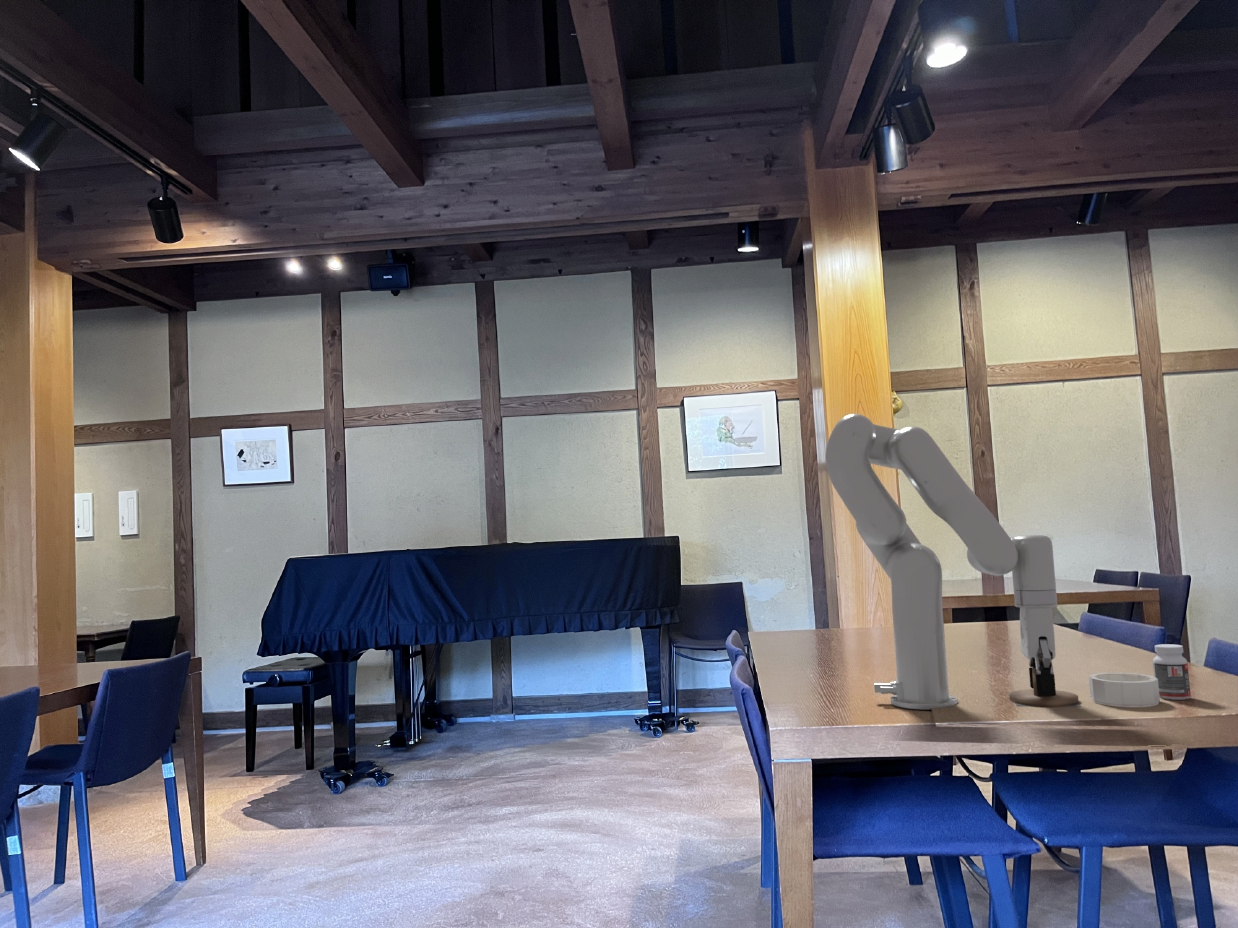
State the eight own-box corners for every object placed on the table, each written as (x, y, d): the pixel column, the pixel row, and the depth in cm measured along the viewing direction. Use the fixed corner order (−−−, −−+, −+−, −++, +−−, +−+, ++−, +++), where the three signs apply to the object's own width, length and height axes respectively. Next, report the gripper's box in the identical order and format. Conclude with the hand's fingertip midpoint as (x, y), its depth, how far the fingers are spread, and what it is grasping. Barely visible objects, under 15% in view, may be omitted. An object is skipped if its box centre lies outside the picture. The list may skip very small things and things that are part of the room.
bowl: (1099, 709, 162) (1097, 682, 163) (1086, 698, 173) (1084, 672, 173) (1167, 710, 159) (1164, 682, 160) (1149, 698, 170) (1147, 672, 170)
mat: (1017, 708, 166) (1016, 705, 166) (1009, 697, 177) (1008, 694, 177) (1081, 709, 163) (1081, 706, 163) (1069, 698, 174) (1069, 695, 174)
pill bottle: (1196, 700, 167) (1191, 647, 167) (1163, 700, 168) (1158, 647, 169) (1183, 694, 172) (1178, 643, 173) (1151, 695, 173) (1146, 643, 174)
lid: (1014, 706, 166) (1011, 673, 167) (1005, 694, 178) (1003, 664, 178) (1084, 706, 163) (1082, 673, 163) (1071, 694, 174) (1068, 663, 175)
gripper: (1008, 595, 181) (1015, 683, 180) (1021, 603, 164) (1029, 700, 163) (1048, 594, 179) (1055, 684, 178) (1065, 602, 162) (1073, 700, 161)
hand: (1042, 691), depth 170 cm, fingers open, 6 cm apart
